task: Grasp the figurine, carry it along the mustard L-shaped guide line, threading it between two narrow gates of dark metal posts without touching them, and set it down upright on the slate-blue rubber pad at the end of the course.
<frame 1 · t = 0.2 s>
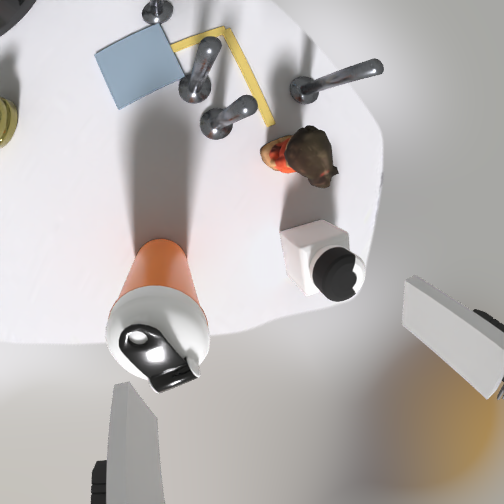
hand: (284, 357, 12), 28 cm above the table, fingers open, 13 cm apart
figurine: (281, 152, 37), on the table
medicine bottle: (304, 246, 43), on the table
shaker bottle: (161, 262, 38), on the table
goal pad: (138, 64, 28), on the table
guide line: (225, 30, 29), on the table
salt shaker: (0, 124, 24), on the table
gate a: (261, 105, 34), on the table
gate b: (174, 48, 28), on the table
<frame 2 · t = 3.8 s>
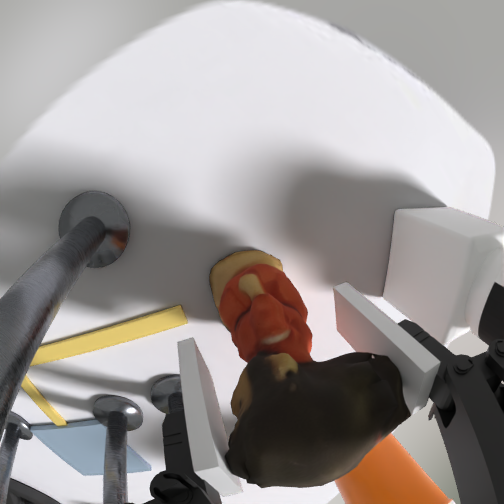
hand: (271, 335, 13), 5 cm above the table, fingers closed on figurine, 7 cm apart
figurine: (246, 290, 17), on the table, touching gripper
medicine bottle: (417, 249, 20), on the table
shaker bottle: (342, 424, 27), on the table
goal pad: (90, 449, 19), on the table
guide line: (10, 361, 14), on the table
gate a: (139, 326, 16), on the table
gate b: (59, 420, 17), on the table
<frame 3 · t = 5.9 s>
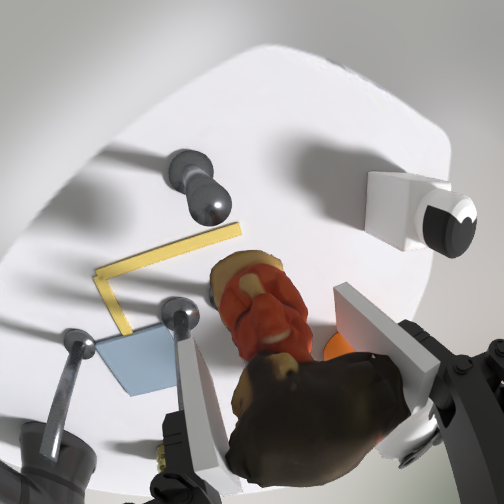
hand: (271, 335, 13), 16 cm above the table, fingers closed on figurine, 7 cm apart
figurine: (246, 290, 17), point 11 cm above the table, touching gripper
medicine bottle: (387, 200, 32), on the table
shaker bottle: (344, 345, 38), on the table
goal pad: (145, 362, 31), on the table
guide line: (98, 275, 26), on the table
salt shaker: (177, 450, 38), on the table
gate a: (210, 237, 28), on the table
gate b: (126, 330, 29), on the table
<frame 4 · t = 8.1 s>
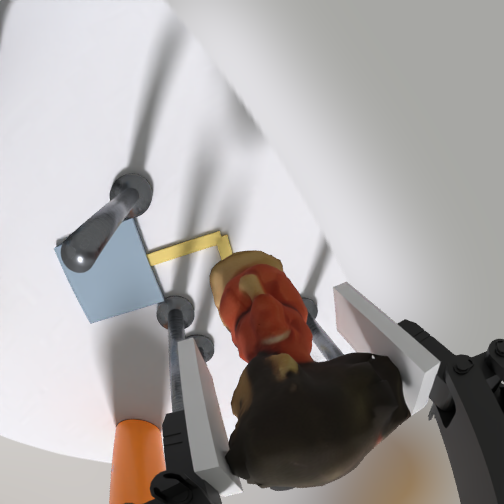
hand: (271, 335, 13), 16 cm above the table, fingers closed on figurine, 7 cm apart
figurine: (246, 290, 17), point 12 cm above the table, touching gripper
shaker bottle: (138, 430, 35), on the table
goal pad: (108, 273, 26), on the table
guide line: (220, 236, 28), on the table
gate a: (249, 331, 33), on the table
gate b: (153, 258, 27), on the table
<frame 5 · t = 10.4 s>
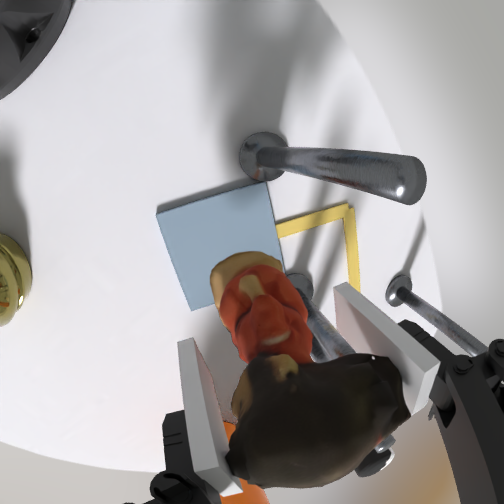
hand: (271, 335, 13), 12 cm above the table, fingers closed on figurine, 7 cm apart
figurine: (246, 291, 17), point 8 cm above the table, touching gripper
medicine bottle: (342, 413, 39), on the table
shaker bottle: (213, 434, 33), on the table
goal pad: (224, 247, 24), on the table
guide line: (347, 209, 26), on the table
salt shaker: (4, 268, 19), on the table
gate a: (355, 310, 31), on the table
gate b: (279, 230, 25), on the table
when the fingers open (6 cm above the table, at t = 12.2 s): figurine stays where it is, resting on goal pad.
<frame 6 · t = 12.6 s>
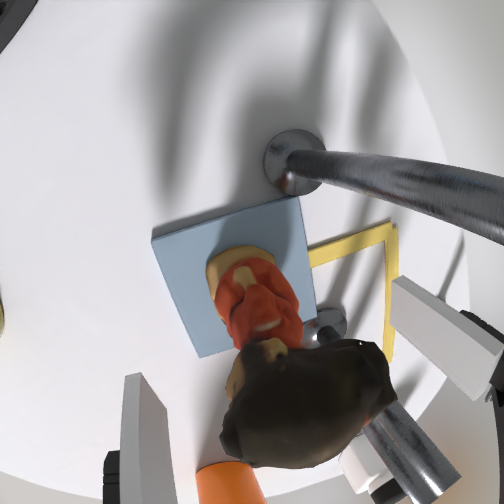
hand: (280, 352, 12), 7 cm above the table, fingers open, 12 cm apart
figurine: (241, 284, 18), resting on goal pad
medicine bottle: (361, 442, 33), on the table
shaker bottle: (223, 472, 27), on the table
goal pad: (242, 281, 19), on the table
guide line: (390, 228, 20), on the table
gate a: (387, 342, 25), on the table
gate b: (312, 257, 19), on the table
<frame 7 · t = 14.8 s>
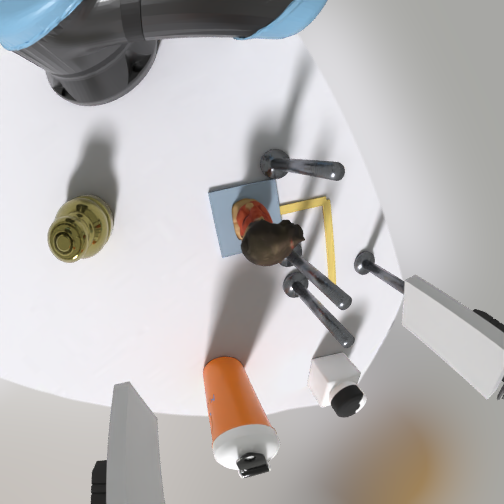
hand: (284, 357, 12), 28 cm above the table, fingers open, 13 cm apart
figurine: (246, 218, 39), resting on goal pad
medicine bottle: (324, 367, 53), on the table
shaker bottle: (222, 370, 47), on the table
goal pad: (247, 217, 39), on the table
guide line: (325, 200, 41), on the table
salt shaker: (89, 221, 34), on the table
gate a: (331, 273, 46), on the table
gate b: (281, 209, 40), on the table
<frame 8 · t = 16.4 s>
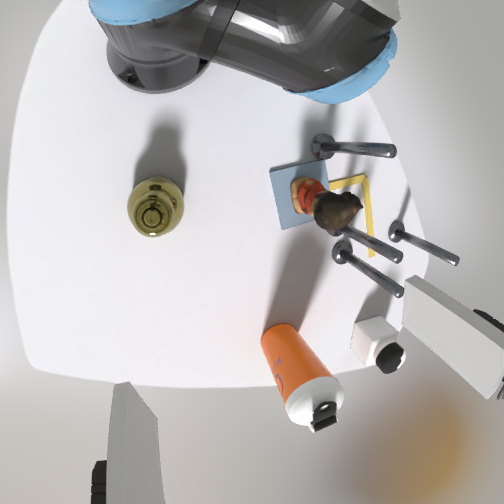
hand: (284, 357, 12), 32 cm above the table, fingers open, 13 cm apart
figurine: (302, 194, 43), resting on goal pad
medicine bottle: (364, 331, 58), on the table
shaker bottle: (278, 338, 52), on the table
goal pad: (302, 193, 43), on the table
guide line: (364, 177, 45), on the table
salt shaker: (157, 201, 39), on the table
gate a: (370, 241, 50), on the table
gate b: (330, 186, 44), on the table
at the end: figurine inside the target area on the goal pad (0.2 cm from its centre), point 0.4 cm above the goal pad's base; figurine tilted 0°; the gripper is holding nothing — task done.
